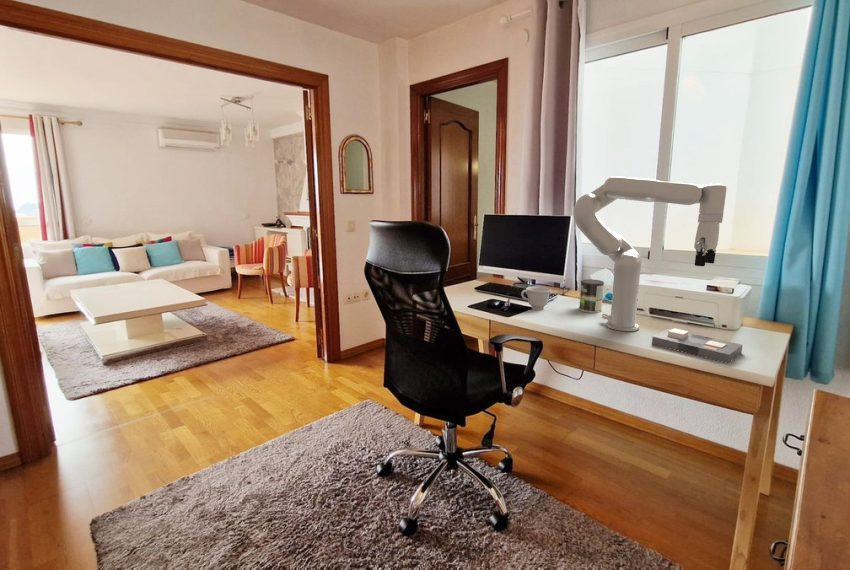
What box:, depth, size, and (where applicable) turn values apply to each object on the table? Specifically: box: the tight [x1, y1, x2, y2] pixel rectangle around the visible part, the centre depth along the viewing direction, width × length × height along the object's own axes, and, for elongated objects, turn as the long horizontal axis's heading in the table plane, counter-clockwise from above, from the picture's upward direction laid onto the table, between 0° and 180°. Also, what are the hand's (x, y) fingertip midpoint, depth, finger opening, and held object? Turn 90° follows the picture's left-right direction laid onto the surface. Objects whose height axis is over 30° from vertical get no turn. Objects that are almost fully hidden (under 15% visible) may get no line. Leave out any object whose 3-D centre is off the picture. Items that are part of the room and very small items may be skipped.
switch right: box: [705, 341, 727, 349], centre depth 146 cm, size 5×5×3 cm
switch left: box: [668, 327, 689, 340], centre depth 155 cm, size 5×5×3 cm
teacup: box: [520, 285, 552, 311], centre depth 205 cm, size 12×15×10 cm
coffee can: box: [578, 278, 605, 314], centre depth 201 cm, size 10×10×14 cm
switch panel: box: [651, 328, 743, 364], centre depth 150 cm, size 24×14×3 cm, turn 39°
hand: (704, 264), depth 158 cm, fingers open, 9 cm apart
